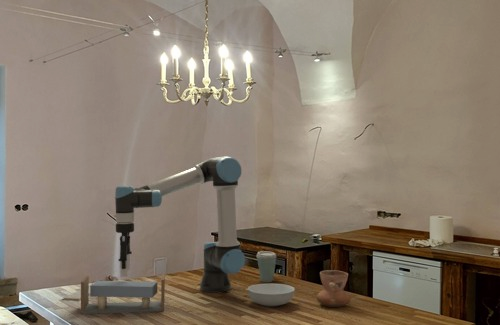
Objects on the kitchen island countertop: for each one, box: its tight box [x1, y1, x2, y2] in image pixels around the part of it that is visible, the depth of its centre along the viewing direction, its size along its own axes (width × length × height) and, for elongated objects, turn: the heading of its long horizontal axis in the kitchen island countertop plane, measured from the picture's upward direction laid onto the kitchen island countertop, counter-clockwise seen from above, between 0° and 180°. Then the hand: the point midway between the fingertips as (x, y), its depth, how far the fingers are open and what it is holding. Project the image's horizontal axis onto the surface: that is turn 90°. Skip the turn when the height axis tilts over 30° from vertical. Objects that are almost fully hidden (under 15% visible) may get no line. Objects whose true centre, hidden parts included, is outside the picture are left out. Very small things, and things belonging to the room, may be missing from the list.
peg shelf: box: [80, 273, 166, 315], centre depth 217 cm, size 12×33×13 cm, turn 99°
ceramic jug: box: [316, 269, 351, 308], centre depth 226 cm, size 18×14×14 cm
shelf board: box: [89, 280, 158, 299], centre depth 217 cm, size 9×26×4 cm, turn 87°
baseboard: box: [61, 280, 104, 302], centre depth 245 cm, size 30×3×10 cm
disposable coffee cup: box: [256, 250, 277, 283], centre depth 271 cm, size 11×11×15 cm
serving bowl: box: [247, 283, 296, 307], centre depth 227 cm, size 21×21×7 cm
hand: (125, 273), depth 218 cm, fingers open, 13 cm apart
